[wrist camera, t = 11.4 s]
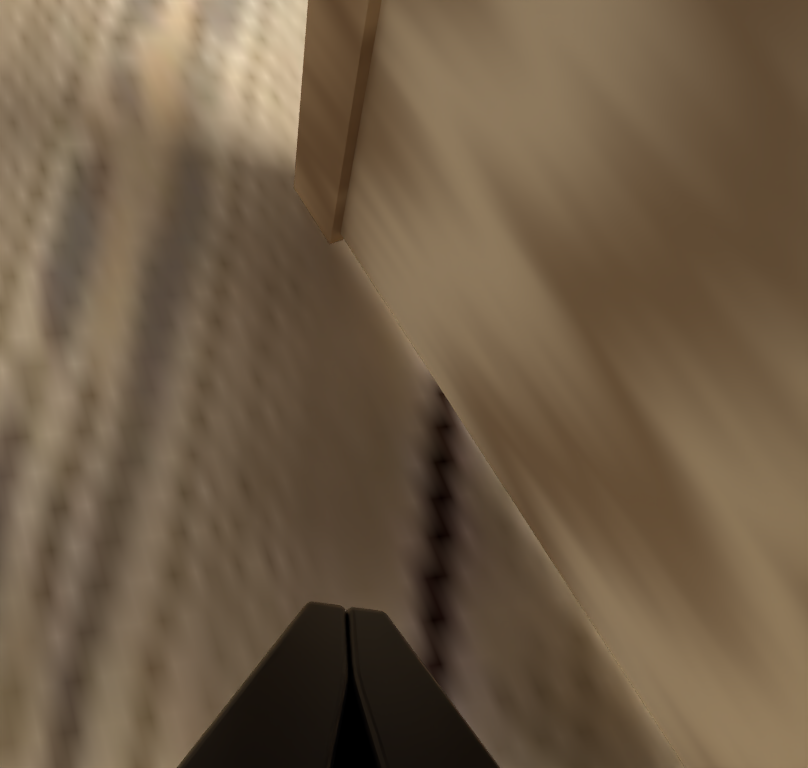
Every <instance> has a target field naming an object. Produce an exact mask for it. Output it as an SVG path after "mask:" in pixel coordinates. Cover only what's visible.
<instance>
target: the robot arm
mask: <svg viewBox="0 0 808 768" xmlns="http://www.w3.org/2000/svg"><path fill="white" fill-rule="evenodd" d="M177 768H500V767H499V765H498V764H497V763H496V761H495V760H494V759H493V757H492V756H491V755H490V753H489V752H488V751H487V749H486V748H485V747H484V745H483V744H482V743H481V741H480V740H479V738H478V737H477V736H476V734H475V733H474V732H473V730H472V729H471V728H470V726H469V725H468V724H467V722H466V721H465V720H464V718H463V717H462V716H461V714H460V713H459V711H458V710H457V709H456V707H455V706H454V705H453V703H452V702H451V701H450V699H449V698H448V697H447V695H446V694H445V693H444V691H443V690H442V689H441V687H440V686H439V684H438V683H437V682H436V680H435V679H434V678H433V676H432V675H431V674H430V672H429V671H428V670H427V668H426V667H425V666H424V664H423V663H422V662H421V660H420V659H419V658H418V656H417V655H416V653H415V652H414V651H413V649H412V648H411V647H410V645H409V644H408V643H407V641H406V640H405V639H404V637H403V636H402V635H401V633H400V632H399V631H398V629H397V628H396V626H395V625H394V624H393V622H392V621H391V620H390V618H389V617H388V616H387V615H386V614H385V613H384V612H382V611H378V610H371V609H363V608H355V607H351V608H349V609H348V610H347V611H345V609H344V608H343V607H342V606H340V605H333V604H326V603H319V602H309V603H307V604H306V605H305V606H304V607H303V608H302V610H301V611H300V612H299V614H298V615H297V616H296V617H295V619H294V620H293V621H292V622H291V624H290V625H289V626H288V627H287V629H286V630H285V631H284V633H283V634H282V635H281V636H280V638H279V639H278V640H277V641H276V643H275V644H274V645H273V647H272V648H271V649H270V650H269V652H268V653H267V654H266V655H265V657H264V658H263V659H262V660H261V662H260V663H259V664H258V666H257V667H256V668H255V669H254V671H253V672H252V673H251V674H250V676H249V677H248V678H247V680H246V681H245V682H244V683H243V685H242V686H241V687H240V688H239V690H238V691H237V692H236V693H235V695H234V696H233V697H232V699H231V700H230V701H229V702H228V704H227V705H226V706H225V707H224V709H223V710H222V711H221V713H220V714H219V715H218V716H217V718H216V719H215V720H214V721H213V723H212V724H211V725H210V726H209V728H208V729H207V730H206V732H205V733H204V734H203V735H202V737H201V738H200V739H199V740H198V742H197V743H196V744H195V746H194V747H193V748H192V749H191V751H190V752H189V753H188V754H187V756H186V757H185V758H184V759H183V761H182V762H181V763H180V765H179V766H178V767H177Z"/></svg>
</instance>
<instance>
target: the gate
mask: <svg viewBox="0 0 808 768" xmlns="http://www.w3.org/2000/svg"><path fill="white" fill-rule="evenodd" d="M294 189H295V191H296V192H297V194H298V195H299V197H300V198H301V200H302V202H303V203H304V205H305V206H306V208H307V209H308V211H309V213H310V214H311V216H312V217H313V219H314V220H315V222H316V224H317V225H318V227H319V228H320V230H321V231H322V233H323V235H324V236H325V238H326V239H327V241H328V242H329V244H332V243H335V242H337V241H340V240H343V239H344V240H345V241H346V243H347V244H348V246H349V247H350V249H351V251H352V252H353V254H354V255H355V257H356V258H357V260H358V261H359V263H360V264H361V266H362V268H363V269H364V271H365V272H366V274H367V275H368V277H369V278H370V280H371V282H372V283H373V285H374V286H375V288H376V289H377V291H378V292H379V294H380V295H381V297H382V299H383V300H384V302H385V303H386V305H387V306H388V308H389V309H390V311H391V313H392V314H393V316H394V317H395V319H396V320H397V322H398V323H399V325H400V326H401V328H402V330H403V331H404V333H405V334H406V336H407V337H408V339H409V340H410V342H411V344H412V345H413V347H414V348H415V350H416V351H417V353H418V354H419V356H420V358H421V359H422V361H423V362H424V364H425V365H426V367H427V368H428V370H429V371H430V373H431V375H432V376H433V378H434V379H435V381H436V382H437V384H438V385H439V387H440V389H441V390H442V392H443V393H444V395H445V396H446V398H447V399H448V401H449V402H450V404H451V406H452V407H453V409H454V410H455V412H456V413H457V415H458V416H459V418H460V420H461V421H462V423H463V424H464V426H465V427H466V429H467V430H468V432H469V433H470V435H471V437H472V438H473V440H474V441H475V443H476V444H477V446H478V447H479V449H480V451H481V452H482V454H483V455H484V457H485V458H486V460H487V461H488V463H489V464H490V466H491V468H492V469H493V471H494V472H495V474H496V475H497V477H498V478H499V480H500V482H501V483H502V485H503V486H504V488H505V489H506V491H507V492H508V494H509V495H510V497H511V499H512V500H513V502H514V503H515V505H516V506H517V508H518V509H519V511H520V513H521V514H522V516H523V517H524V519H525V520H526V522H527V523H528V525H529V526H530V528H531V530H532V531H533V533H534V534H535V536H536V537H537V539H538V540H539V542H540V544H541V545H542V547H543V548H544V550H545V551H546V553H547V554H548V556H549V558H550V559H551V561H552V562H553V564H554V565H555V567H556V568H557V570H558V571H559V573H560V575H561V576H562V578H563V579H564V581H565V582H566V584H567V585H568V587H569V589H570V590H571V592H572V593H573V595H574V596H575V598H576V599H577V601H578V602H579V604H580V606H581V607H582V609H583V610H584V612H585V613H586V615H587V616H588V618H589V620H590V621H591V623H592V624H593V626H594V627H595V629H596V630H597V632H598V633H599V635H600V637H601V638H602V640H603V641H604V643H605V644H606V646H607V647H608V649H609V651H610V652H611V654H612V655H613V657H614V658H615V660H616V661H617V663H618V664H619V666H620V668H621V669H622V671H623V672H624V674H625V675H626V677H627V678H628V680H629V682H630V683H631V685H632V686H633V688H634V689H635V691H636V692H637V694H638V695H639V697H640V699H641V700H642V702H643V703H644V705H645V706H646V708H647V709H648V711H649V713H650V714H651V716H652V717H653V719H654V720H655V722H656V723H657V725H658V726H659V728H660V730H661V731H662V733H663V734H664V736H665V737H666V739H667V740H668V742H669V744H670V745H671V747H672V748H673V750H674V751H675V753H676V754H677V756H678V757H679V759H680V761H681V762H682V764H683V765H684V767H685V768H808V0H308V10H307V23H306V36H305V49H304V62H303V75H302V88H301V101H300V113H299V126H298V139H297V152H296V165H295V178H294Z"/></svg>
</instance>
